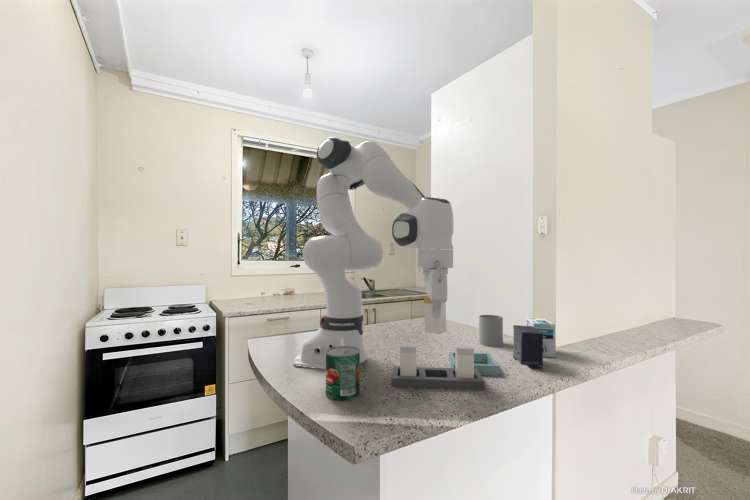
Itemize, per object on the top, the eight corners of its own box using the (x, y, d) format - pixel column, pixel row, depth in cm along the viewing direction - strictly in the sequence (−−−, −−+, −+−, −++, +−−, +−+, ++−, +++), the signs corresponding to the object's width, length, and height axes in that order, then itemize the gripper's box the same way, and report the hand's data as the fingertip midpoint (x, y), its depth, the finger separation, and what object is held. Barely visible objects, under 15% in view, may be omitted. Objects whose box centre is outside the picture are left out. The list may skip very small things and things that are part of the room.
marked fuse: (424, 332, 87) (423, 296, 87) (432, 329, 90) (431, 295, 90) (439, 334, 84) (438, 297, 85) (446, 331, 88) (445, 295, 88)
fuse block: (391, 390, 84) (391, 378, 84) (393, 377, 93) (393, 366, 93) (484, 394, 81) (484, 381, 81) (477, 380, 90) (477, 368, 90)
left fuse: (400, 382, 86) (400, 346, 86) (400, 377, 90) (400, 342, 90) (416, 383, 85) (416, 347, 86) (416, 377, 89) (416, 343, 90)
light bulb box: (556, 357, 110) (556, 324, 110) (533, 356, 111) (533, 323, 111) (546, 348, 120) (546, 318, 120) (526, 347, 122) (525, 317, 122)
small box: (544, 369, 99) (544, 332, 99) (520, 368, 100) (520, 332, 100) (533, 358, 109) (533, 325, 109) (512, 357, 110) (512, 324, 111)
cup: (476, 344, 126) (475, 317, 126) (483, 339, 133) (482, 314, 133) (499, 348, 121) (499, 319, 122) (505, 343, 128) (505, 316, 128)
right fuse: (457, 385, 84) (457, 348, 84) (455, 379, 88) (455, 344, 88) (474, 385, 84) (473, 348, 84) (471, 379, 88) (471, 344, 88)
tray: (453, 377, 92) (453, 364, 92) (448, 363, 104) (448, 351, 104) (499, 379, 91) (499, 365, 91) (489, 364, 103) (489, 353, 103)
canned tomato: (318, 399, 79) (318, 351, 79) (342, 388, 85) (342, 344, 85) (343, 409, 74) (342, 357, 74) (367, 397, 80) (366, 349, 80)
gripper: (454, 262, 77) (453, 324, 77) (443, 259, 97) (442, 308, 97) (425, 262, 77) (425, 323, 77) (420, 259, 98) (420, 307, 98)
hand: (434, 315), depth 87 cm, fingers closed on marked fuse, 5 cm apart
